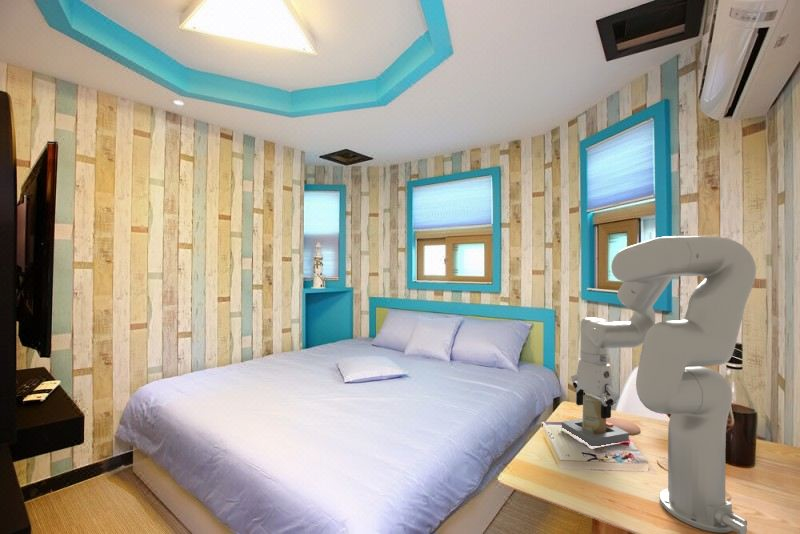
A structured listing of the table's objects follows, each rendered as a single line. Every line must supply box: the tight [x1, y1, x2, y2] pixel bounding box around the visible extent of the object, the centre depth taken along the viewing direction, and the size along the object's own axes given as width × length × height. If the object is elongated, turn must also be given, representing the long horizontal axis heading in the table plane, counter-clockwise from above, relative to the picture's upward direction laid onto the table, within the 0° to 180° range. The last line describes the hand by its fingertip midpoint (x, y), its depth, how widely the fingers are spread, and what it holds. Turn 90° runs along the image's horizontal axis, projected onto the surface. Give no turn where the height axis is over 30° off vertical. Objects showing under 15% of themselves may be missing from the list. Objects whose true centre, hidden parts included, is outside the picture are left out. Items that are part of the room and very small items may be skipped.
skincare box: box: [582, 395, 606, 435], centre depth 109 cm, size 6×4×12 cm
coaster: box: [606, 417, 641, 436], centre depth 116 cm, size 11×11×1 cm
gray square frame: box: [561, 418, 630, 446], centre depth 109 cm, size 12×14×4 cm
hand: (592, 411), depth 109 cm, fingers open, 9 cm apart
